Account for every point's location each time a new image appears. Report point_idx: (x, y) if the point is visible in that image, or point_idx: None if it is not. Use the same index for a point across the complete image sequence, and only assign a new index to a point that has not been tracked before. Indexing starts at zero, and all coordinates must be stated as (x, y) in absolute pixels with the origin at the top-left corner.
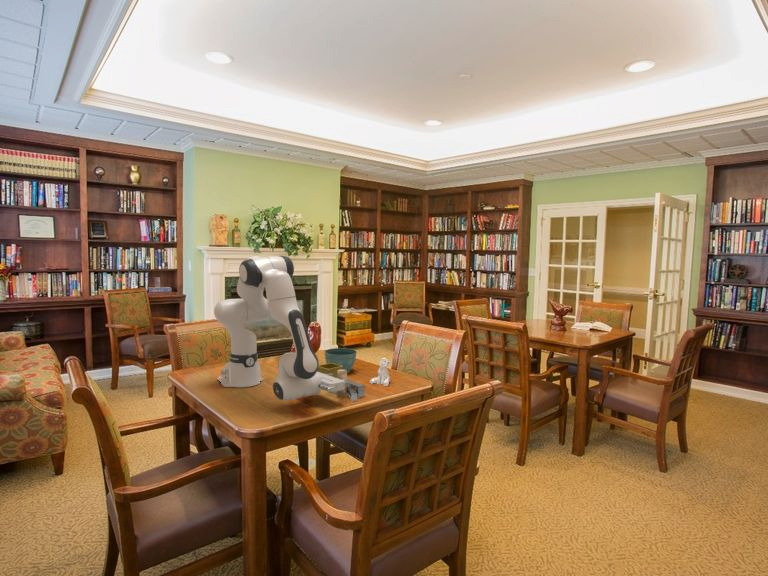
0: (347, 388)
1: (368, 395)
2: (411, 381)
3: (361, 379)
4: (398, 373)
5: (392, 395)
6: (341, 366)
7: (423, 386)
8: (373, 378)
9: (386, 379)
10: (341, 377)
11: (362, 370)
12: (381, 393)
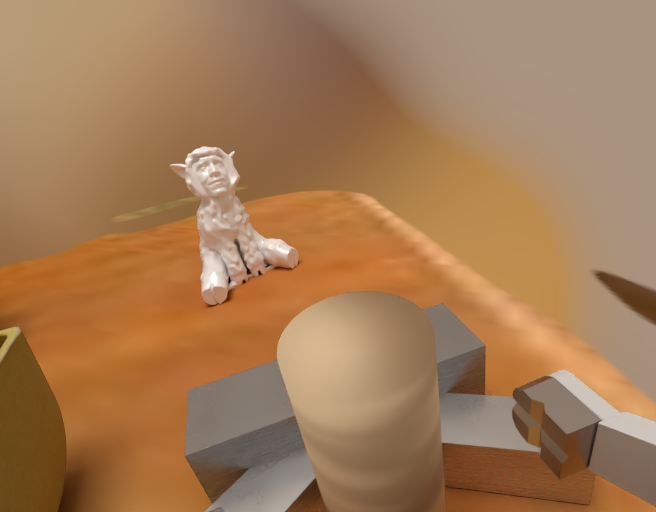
0: None
1: None
2: (281, 210)
3: (116, 326)
4: (171, 225)
5: (445, 262)
6: (15, 337)
7: (353, 195)
8: (212, 272)
9: (262, 240)
10: (436, 425)
11: (13, 301)
12: (398, 291)
